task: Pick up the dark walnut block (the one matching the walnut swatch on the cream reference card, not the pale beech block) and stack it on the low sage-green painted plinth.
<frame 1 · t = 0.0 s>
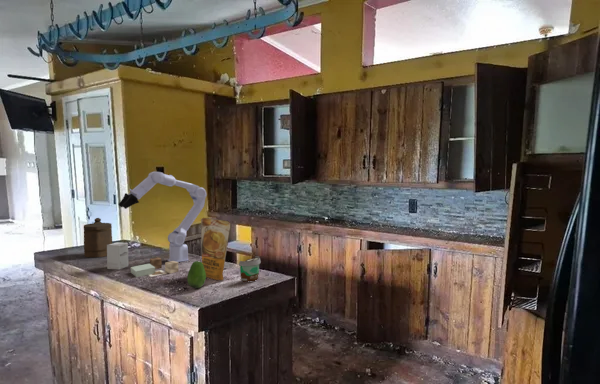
hand: (121, 206, 188), 32 cm above the countertop, tool tilted 50°, fingers open, 7 cm apart
wooden container: (98, 255, 220), on the countertop
food container: (252, 280, 174), on the countertop
beech block: (171, 272, 186), on the countertop
plinth: (143, 273, 183), on the countertop, touching reference card
avocado: (196, 288, 163), on the countertop
walnut block: (155, 268, 192), on the countertop
supplement box: (118, 268, 193), on the countertop
reference card: (156, 273, 183), on the countertop
pancake mix bag: (213, 277, 178), on the countertop
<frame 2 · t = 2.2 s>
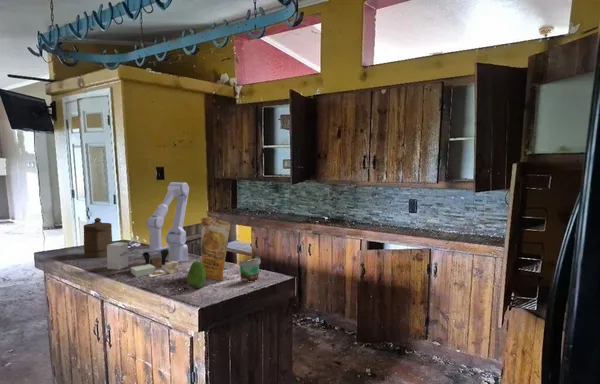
hand: (155, 265, 192), 1 cm above the countertop, tool pointing down, fingers open, 7 cm apart
plinth: (143, 273, 183), on the countertop, touching gripper, reference card
everything else where it was.
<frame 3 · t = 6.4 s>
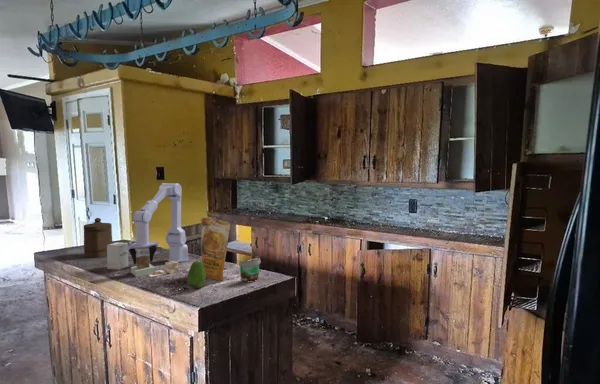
hand: (143, 262, 182), 6 cm above the countertop, tool pointing down, fingers open, 7 cm apart
plinth: (143, 273, 183), on the countertop, touching reference card, walnut block
walnut block: (143, 267, 182), point 3 cm above the countertop, touching plinth
everything else where it was.
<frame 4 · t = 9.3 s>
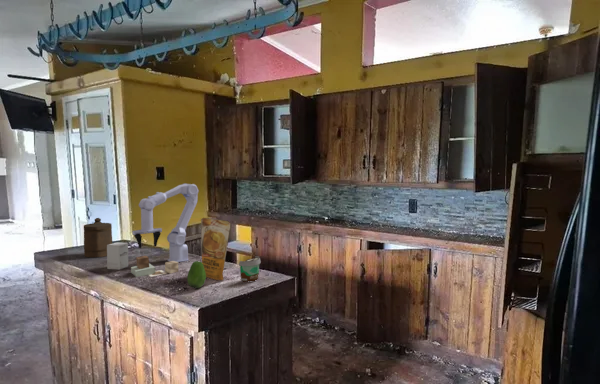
hand: (147, 246, 195), 10 cm above the countertop, tool pointing down, fingers open, 7 cm apart
nothing on the countertop moved.
at the end: walnut block 0.1 cm off-centre on the plinth, point 3.0 cm above the plinth's base; walnut block tilted 3°; the gripper is holding nothing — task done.
